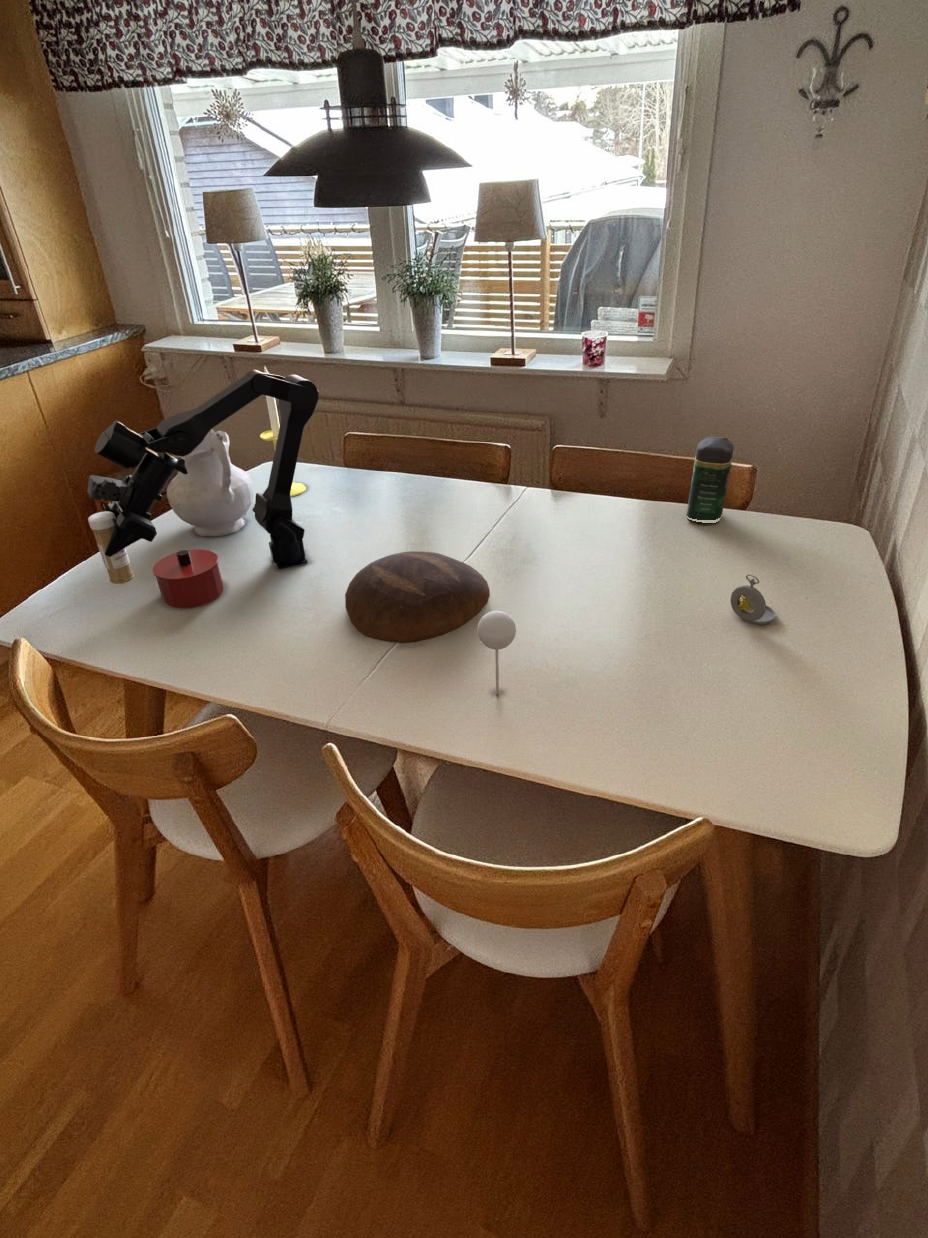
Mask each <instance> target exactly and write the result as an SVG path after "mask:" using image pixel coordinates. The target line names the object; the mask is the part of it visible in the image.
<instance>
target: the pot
mask: <svg viewBox="0 0 928 1238" xmlns="http://www.w3.org/2000/svg"><path fill="white" fill-rule="evenodd" d="M155 578H156V583H157V585H158V589H159V592H160V595H161V599H162V601H163V603H164V604H165V605H166V606H168V607H171V608H174V609H175V608H176V609H192V608H197V607H200V606H204V605H206V604H209V603H211V602H213V601H214V600H216V599H217V598H219V597H220V596H221V595H222V594H223V592H224V582H223V578H222V573H221V570H220V565H219V563H218V564H217V566H216V567H215V568H214V569H212V570H211V571H210V572H208V573H206V574H204V575H201V576H199V577H196V578H192V579H187V580H181V581H167V580H162V579H159V578H157V577H155Z"/></svg>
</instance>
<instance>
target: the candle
mask: <svg viewBox="0 0 928 1238" xmlns="http://www.w3.org/2000/svg"><path fill="white" fill-rule="evenodd" d="M263 368H264V369H263V373H268V374H270V373H269V371H268V369H267V367H266V366H264V367H263ZM265 400H266V405H267V412H268V416H269V422H270V428H271V429H269V430H266V431H263V432H262V433H261V434H259V437H260V439H261V440H263V441H268V442H269V441H270V442H273V447H274V450H275V448H276V443H277V438H278V433H279V428H280V419H279V414H278V408H277V402H276V398H274V397H270V396H266V395H265ZM306 489H307V487H306V486H305V484H303V483H300V482H294V481H293V482H292V487H291V492H290V497H291V498H293V497H297V496H299V495H302V494H303V493H305V492H306Z"/></svg>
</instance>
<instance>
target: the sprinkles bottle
mask: <svg viewBox="0 0 928 1238" xmlns="http://www.w3.org/2000/svg"><path fill="white" fill-rule="evenodd" d="M112 518H113V519H115V520H116V517H115V515H114V513H113V512H109V511H105V510H104V511H99V512H95V513H93V514H91V515H90V516H89V517H88V518H87V522H88V524H89V527H90V529H91V531H92V532H93V536H94V537H95V541H96V546H97V548H98V551H99V554H100V556H101V558H102V559H101V560H102V562H103V564H104V567H105V569H106V571H107V574H108V578H109V582H110V583H111V584H113V585H124V584H126V583H129V582H131V581H133V579H135V573H134V571H133V568H132V565H131V562H130V558H129V555H128V553H127V549H126V548H124V549H122V550H121V551H119V552H117V553H116V554H114V555H113V556H111V557H109V556H106V555H105V551H106V548H107V546H108V543H109V541H110V539H111V536H112V534H113V532H114V525H113V522H112Z"/></svg>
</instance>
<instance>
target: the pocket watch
mask: <svg viewBox="0 0 928 1238" xmlns="http://www.w3.org/2000/svg"><path fill="white" fill-rule="evenodd" d="M749 577H752V578H751V579H749ZM745 578H746V580H747V581H748V582H749V584H742V585H739V586H737V587H736V588H735V589H734V590H733V591H732V593H731V595H730V601H729V602H730V605H731V608H732V611H733V612H734V613H735V614H736V616H737V617H738V618H739V619H740V620H742V621H744V622H747V623H749V624H754V625H769V624H770V623H772V622H774V621H775V619H776V616H777V615H776V611H775V610H774V609H773V608H772V607H770V606H769V605H767V602H766V599H765V596H764V595H763V594H762V592H761V591H760V590H758V589H757V588H756V587H754V586H755V585H758V584H760V580H759V578H758V577H756V576H755V575H753V574H746V575H745ZM755 580H756V581H755Z"/></svg>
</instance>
